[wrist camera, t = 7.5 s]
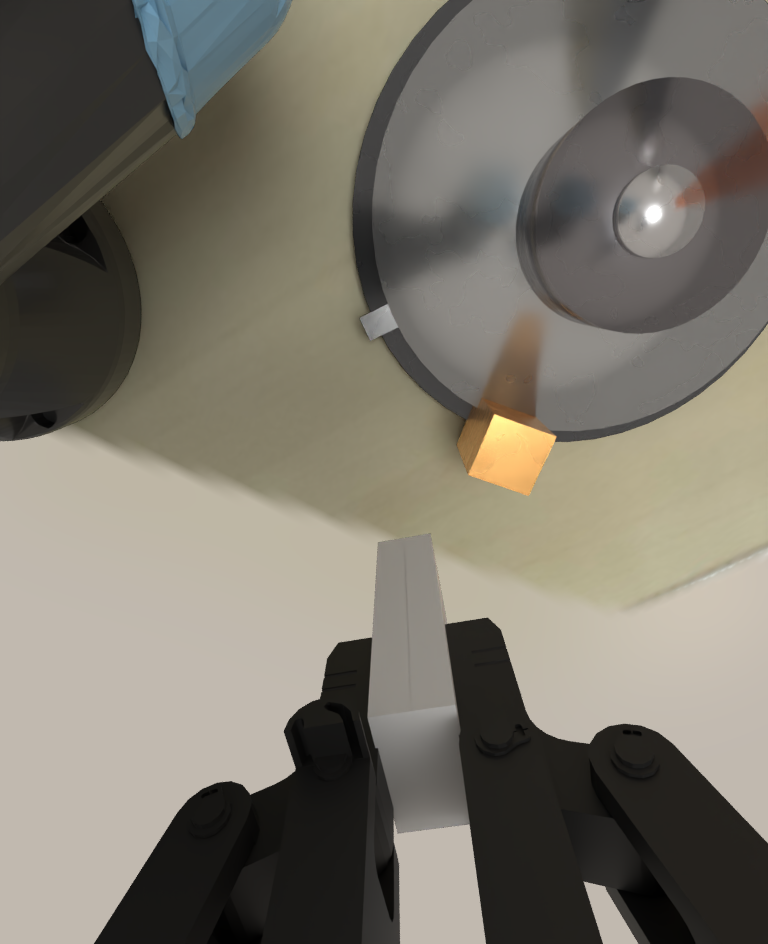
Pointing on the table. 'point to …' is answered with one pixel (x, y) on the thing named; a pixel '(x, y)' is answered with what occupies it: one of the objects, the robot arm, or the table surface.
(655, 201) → the cover
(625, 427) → the turntable base
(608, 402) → the platter
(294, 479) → the table surface
